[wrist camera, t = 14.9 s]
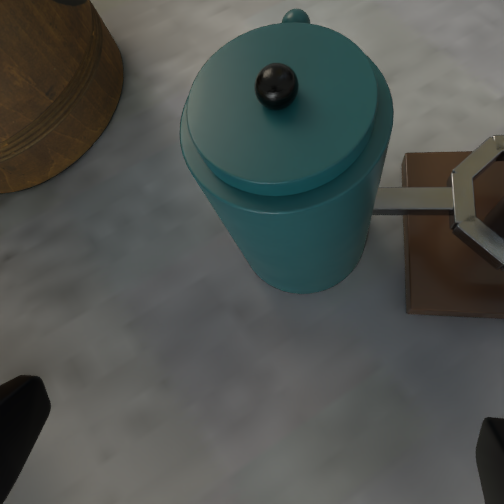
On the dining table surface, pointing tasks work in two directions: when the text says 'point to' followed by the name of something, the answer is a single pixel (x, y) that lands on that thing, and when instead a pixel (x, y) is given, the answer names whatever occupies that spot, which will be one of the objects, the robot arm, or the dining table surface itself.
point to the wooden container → (52, 87)
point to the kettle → (310, 155)
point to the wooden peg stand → (451, 244)
